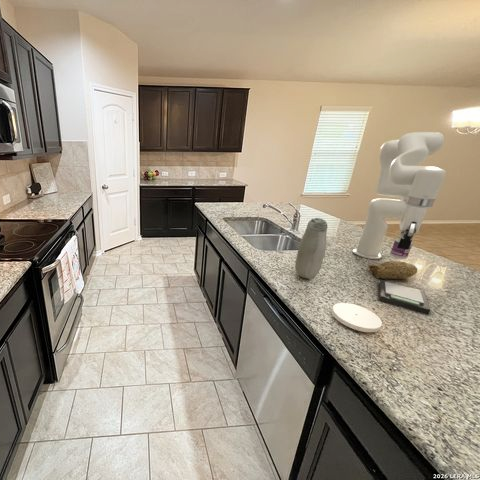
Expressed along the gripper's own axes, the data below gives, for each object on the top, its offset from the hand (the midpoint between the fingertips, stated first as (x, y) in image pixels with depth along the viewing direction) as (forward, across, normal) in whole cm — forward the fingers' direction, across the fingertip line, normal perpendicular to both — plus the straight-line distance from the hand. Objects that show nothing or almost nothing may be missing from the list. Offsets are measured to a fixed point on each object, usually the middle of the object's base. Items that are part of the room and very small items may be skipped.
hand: (402, 245), depth 101 cm
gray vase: (+20, +11, -29) cm, 37 cm away
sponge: (+20, -16, +2) cm, 26 cm away
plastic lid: (+20, +35, -9) cm, 41 cm away
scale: (+20, +6, +5) cm, 21 cm away
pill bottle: (+5, 0, 0) cm, 5 cm away
